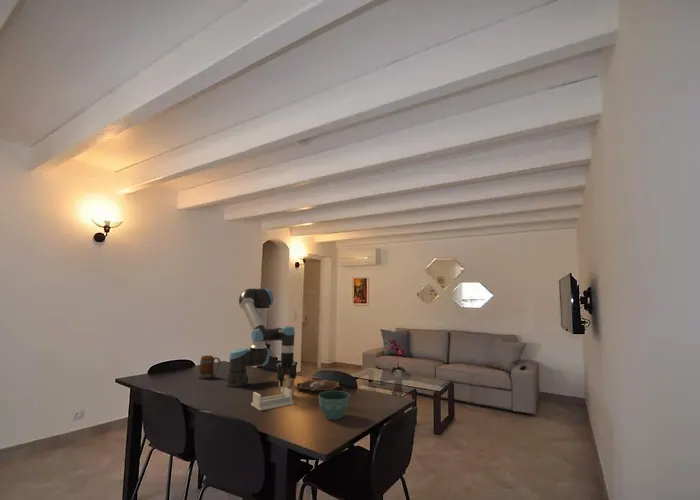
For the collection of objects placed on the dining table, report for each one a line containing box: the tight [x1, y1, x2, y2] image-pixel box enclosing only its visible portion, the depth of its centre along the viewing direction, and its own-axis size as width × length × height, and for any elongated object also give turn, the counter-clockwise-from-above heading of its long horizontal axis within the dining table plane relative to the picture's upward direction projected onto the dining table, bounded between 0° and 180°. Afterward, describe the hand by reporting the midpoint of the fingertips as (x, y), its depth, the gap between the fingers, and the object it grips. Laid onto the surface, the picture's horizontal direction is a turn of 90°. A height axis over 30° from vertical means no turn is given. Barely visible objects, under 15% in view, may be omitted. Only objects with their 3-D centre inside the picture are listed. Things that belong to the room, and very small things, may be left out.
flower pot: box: [317, 390, 351, 421], centre depth 190 cm, size 16×16×11 cm
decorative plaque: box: [296, 379, 343, 396], centre depth 244 cm, size 30×3×30 cm
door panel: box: [277, 375, 295, 398], centre depth 226 cm, size 4×12×10 cm, turn 37°
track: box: [250, 387, 295, 411], centre depth 208 cm, size 12×20×7 cm, turn 127°
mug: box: [197, 355, 221, 380], centre depth 271 cm, size 16×11×15 cm
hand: (285, 391), depth 226 cm, fingers closed on door panel, 4 cm apart
